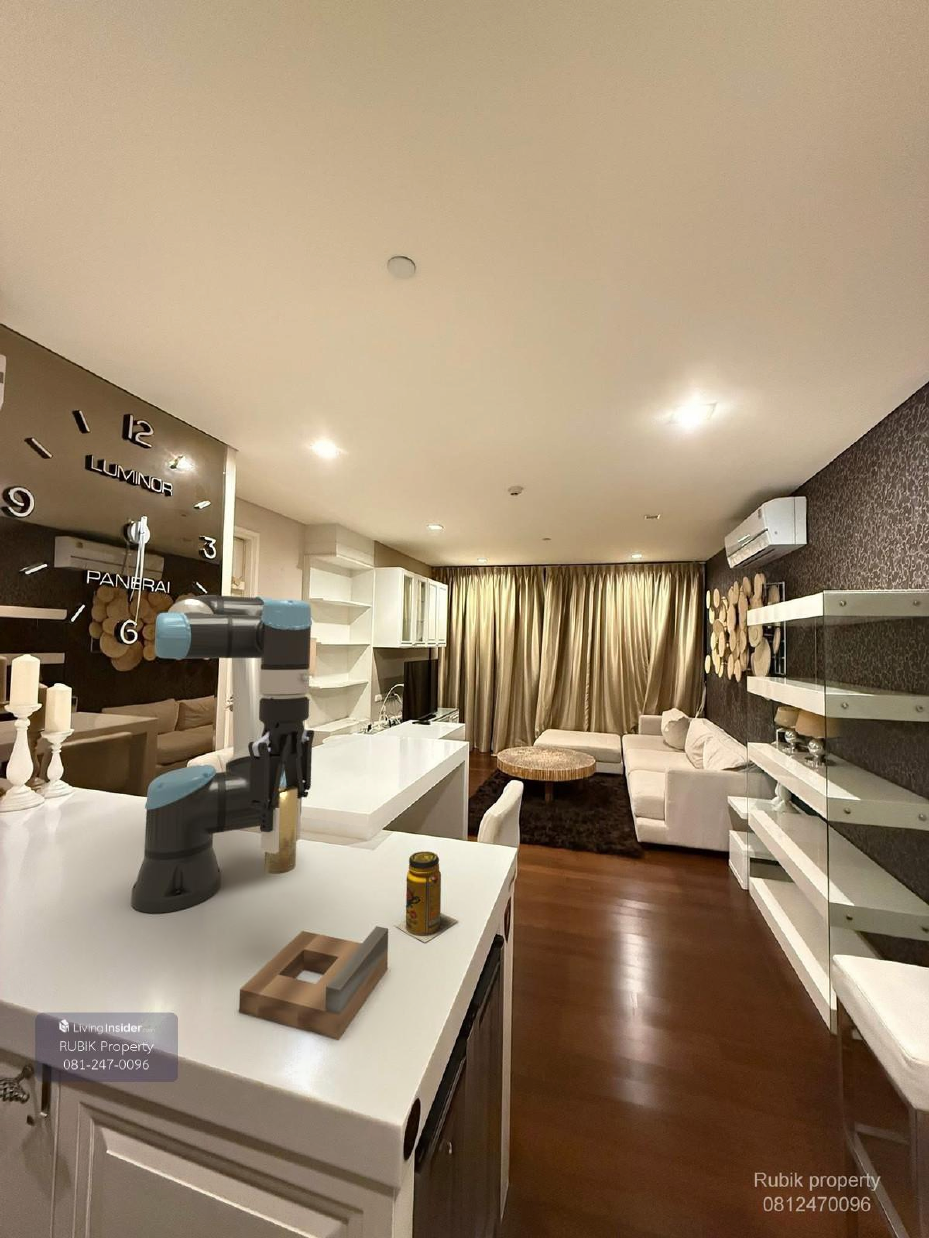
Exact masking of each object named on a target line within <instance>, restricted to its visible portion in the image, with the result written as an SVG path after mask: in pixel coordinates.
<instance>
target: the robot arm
mask: <svg viewBox="0 0 929 1238" xmlns="http://www.w3.org/2000/svg"><path fill="white" fill-rule="evenodd" d="M311 610H312V609H311V605H310V603H308V602H307V601H304V600H298V599H281V598H280V599H278V598H277V599H272V598H268V597H267V598H266V597H261V596H255V597H251V596H234V595H233V596H232V595H217V594H204V595H197V596H191V597H188V598H184V599H181V600H178V601H177V602H175V603H174V604H173V605H172V606H170V608H169V609H168V611H167V612H161V613H159V614H158V615H157V616H156V619H155V628H154V629H155V630H154V631H155V634H154V637H155V638H154V653H155V656H157V657H158V658H160V659H175V660H183V659H231V675H232V676H231V677H232V678H231V680H232V681H231V682H232V683H231V684H232V685H231V687H232V692H231V693H232V735H233V736H232V741H233V743H232V744H233V745H232V746H233V748H232V750H233V751H232V753H233V755H232V756H231V757H230V758H229V759H228V761H227V762H225V771H222V772H221V771H220V772H217V770H216V767H215V766H213V765H211V764H204V765H201V764H200V765H199V764H197V765H192V766H185V767H182V768H178V769H174V770H171V771H168V772H165V773H162V774H161V775H159V776H156V778H154V779H152V781H151V782H150V783H149V785H148V788H147V793H146V795H147V796H146V802H145V804H144V808H145V810H146V814H145V816H146V817H145V829H144V831H145V833H144V849H143V850H144V851H143V852H144V853H143V856H144V857H143V861H142V863H141V864H140V865H141V866H140V868H139V871H138V874H137V878H136V880H135V881H134V884H133V886H132V888H131V897H130V898H131V899H130V904H131V906H132V908H134V909H135V910H137V911H140V912H143V913H152V914H153V913H155V914H156V913H157V914H159V913H169V912H175V911H179V910H184V909H187V908H190V907H193V906H195V905H199V904H200V903H202V902H205V901H206V900H209V898H212V897H213V896H214V895H215V894H216V893H217V892H218V891H219V890H220V888H221V884H222V871H221V868H220V867H219V865H218V861H217V860H218V859H217V856H216V854H215V850H214V847H213V846H214V845H213V844H214V843H213V842H214V841H213V839H214V835H215V834H218V833H226V832H230V831H237V830H244V829H249V828H256V827H259V830H260V833H261V834H260V852H263V853H265V852H268V853H275V854H276V853H277V852H279V827H280V808H276V804H277V798H278V792H279V786H295V787H297V788H298V795H297V836H296V842H298V841H300V840H301V817H302V816H301V814H302V801H303V800H302V798H307V797H308V796H309V791H310V789H311V787H312V758H313V757H312V756H313V754H312V753H313V752H312V751H313V750H312V749H313V741H314V737H315V730H312V729H305V725H304V723H303V722H304V721H307V720H308V719H309V718H310V717H309V716H310V698H309V697H308V696H306V694H308V693H309V692H310V669H311V665H310V664H311V638H312V637H311V632H312V625H313V620H312V614H311V613H312V611H311Z"/></svg>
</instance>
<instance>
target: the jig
mask: <svg viewBox="0 0 929 1238" xmlns="http://www.w3.org/2000/svg"><path fill="white" fill-rule="evenodd" d="M388 954H389V928H387V927H383V926H378V925H376V926H375V927H374V929H373V930H372V931H370V933H369V934H368V936H367V937H366V938H365V939H364V941H363V942H359V941H358V942H357V941H352V940H348V939H344V938H343V939H342V938H339V937H335V936H327V935H325V934H320V933H315V932H309V931H305V930H301V932H300V933H298V934H297V935H296V936H295V937H294V938H293V939H291V941H289V942H288V944H286V946H284V947H283V948H282V949H281V950H280V951H279V952H278V953H277V954H276V955H275V956H274V957H272V959H271V960H269V961H268V962H267V963H266V964H265V965H264V966H263V967H262V968H261V969H260V970H259V971H257V973H256V974H254V975H253V976H252V977H251V978H250V979H249V980H248V981H247V982H245V984H243V986H241V987H240V988H239V1003H238V1006H239V1007H238V1012H239V1014H240V1013H241V1014H244V1015H248V1016H251V1017H255V1018H259V1019H262V1020H267V1021H270V1022H273V1023H277V1024H280V1025H283V1026H284V1025H285V1026H287V1027H290V1028H291V1027H292V1028H294V1029H299V1030H302V1031H305V1032H308V1033H313V1034H316V1035H320V1036H324V1037H327V1038H330V1039H334V1040H340V1039H341V1037H342V1035H343V1034H344V1033H345V1032H346V1030H347V1029H348V1027H349V1026H350V1025H351V1023H352V1021H353V1020H354V1018H355V1017H356V1016H357V1014H358V1013H359V1011H360V1010H361V1008H362V1007H363V1006H364V1004H365V1003H366V1001H367V999H369V997H370V995H371V993H372V992H373V991H374V989H375V988H376V986H377V985H378V983H379V982H380V980H381V979H382V977H383V976H384V975H385V973H386V972H387V971H388V964H389V963H388V959H389V958H388ZM303 971H308V972H312V973H317V974H320V975H322V976H321V977H320V978H319V979H318V981H317V982H315V983H314V982H310V981H306V980H302V979H298V978H297V976H299V975H300V974H301V973H302V972H303Z"/></svg>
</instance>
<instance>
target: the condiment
mask: <svg viewBox="0 0 929 1238" xmlns="http://www.w3.org/2000/svg"><path fill="white" fill-rule="evenodd" d="M439 861H440V857H439V856H438V854H437V853H434V852H432V851H417V852H415V853H412V854H411V855H410V856H409V858H408V864H409V865H408V871H407V874H406V880H405V881H406V897H405V898H406V899H405V900H406V903H405V908H406V909H405V921H403V922H400V923H399V924H397V925H395V927H396V928H398V929H399V930H401V931H402V932H404V933H406V934H408V935H410V936H412V937H413V938H415V939H417V940H420V941H422V942H423V943H427V942H429V941H430V940H432V939H433V938H435V937H436V936H438V935H439V934H441V933H442V932H444V931H445V930H446V929H448V928H450V927H452V926H453V925H454V924H455V923H457V922H459V920H458V919H456V918H452V917H451V916H448V915H446V914H444V913H441V912H442V910H441V906H442V905H441V904H442V903H441V902H442V900H441V897H442V895H441V894H442V874H441V871H440V862H439Z"/></svg>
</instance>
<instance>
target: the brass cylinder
mask: <svg viewBox="0 0 929 1238" xmlns="http://www.w3.org/2000/svg"><path fill="white" fill-rule="evenodd" d="M297 795H298V788H297V787H295V786H279V792H278V798H277V804H276V808H280V827H279V852H277V853H276V854H275V853H268V852H264V872H265V873H267V874H270V875H280V874H285V873H288V872H291V871H293V870H294V869H296V865H297V841H296V836H297Z"/></svg>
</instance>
